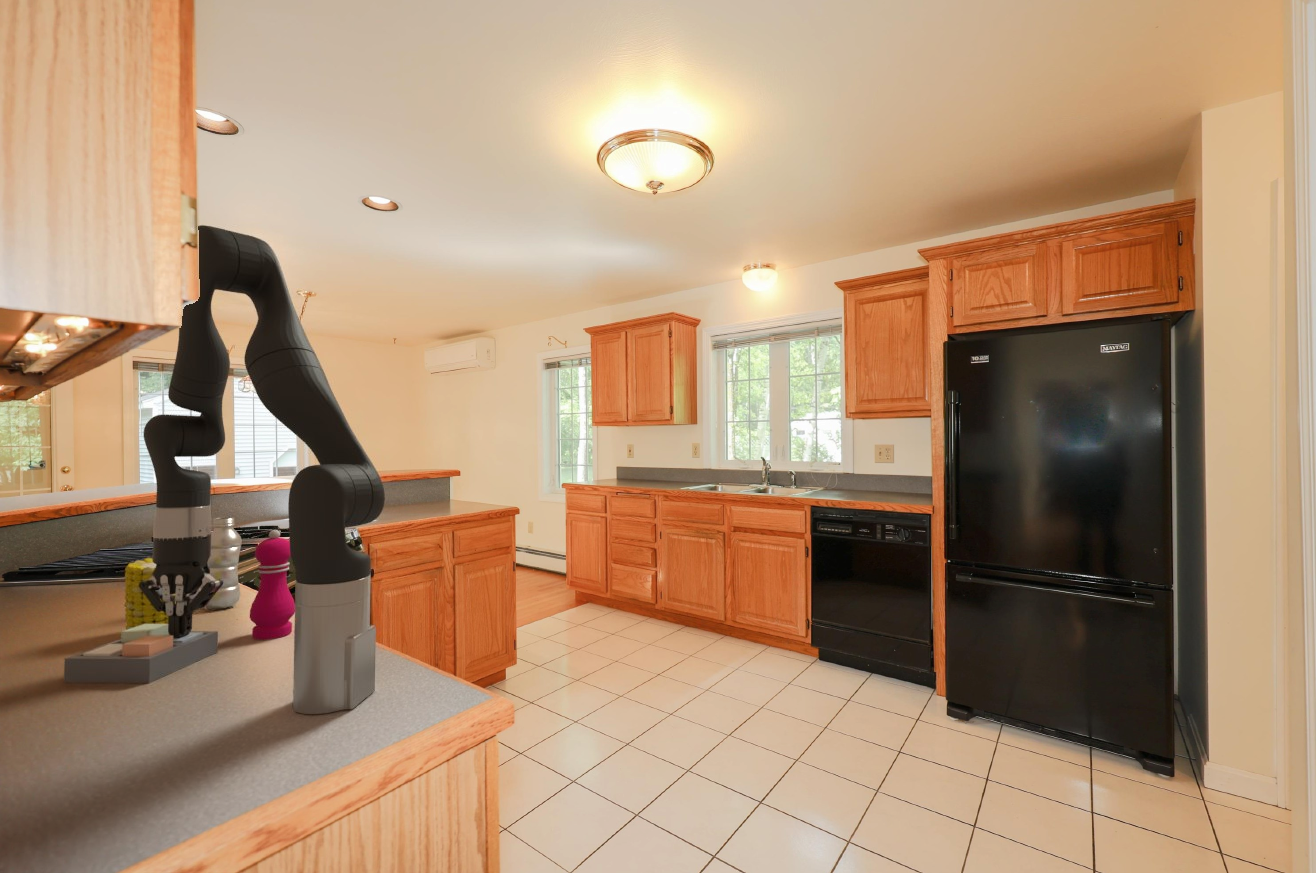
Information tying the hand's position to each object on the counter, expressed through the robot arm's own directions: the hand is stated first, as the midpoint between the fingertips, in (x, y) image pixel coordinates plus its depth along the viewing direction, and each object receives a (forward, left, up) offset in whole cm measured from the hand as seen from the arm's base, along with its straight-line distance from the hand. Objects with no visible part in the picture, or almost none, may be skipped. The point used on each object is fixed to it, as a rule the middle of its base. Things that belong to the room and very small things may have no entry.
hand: (180, 636), depth 94 cm
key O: (0, 0, -3) cm, 3 cm away
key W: (+6, 0, -2) cm, 6 cm away
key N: (+6, +6, -3) cm, 9 cm away
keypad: (+3, +3, -4) cm, 6 cm away
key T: (0, +6, -2) cm, 6 cm away
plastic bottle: (+17, -31, -4) cm, 36 cm away
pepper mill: (-7, -13, -4) cm, 15 cm away
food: (+16, -14, -4) cm, 22 cm away
